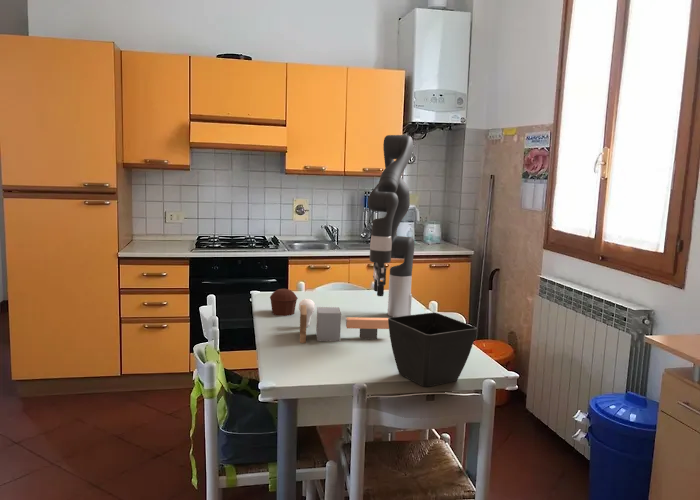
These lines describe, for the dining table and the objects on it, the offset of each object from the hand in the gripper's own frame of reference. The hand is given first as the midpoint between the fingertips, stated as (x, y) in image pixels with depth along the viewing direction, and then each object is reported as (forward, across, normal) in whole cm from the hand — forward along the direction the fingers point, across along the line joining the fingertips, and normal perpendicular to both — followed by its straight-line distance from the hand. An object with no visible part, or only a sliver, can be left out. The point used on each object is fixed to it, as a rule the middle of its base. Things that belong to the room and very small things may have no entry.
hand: (378, 293), depth 210 cm
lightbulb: (+17, +13, +25) cm, 33 cm away
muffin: (+16, +34, +34) cm, 51 cm away
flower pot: (+17, -40, -10) cm, 44 cm away
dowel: (+12, 0, +3) cm, 13 cm away
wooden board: (+16, 0, +26) cm, 31 cm away
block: (+16, 0, +17) cm, 24 cm away
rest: (+16, 0, +3) cm, 17 cm away
